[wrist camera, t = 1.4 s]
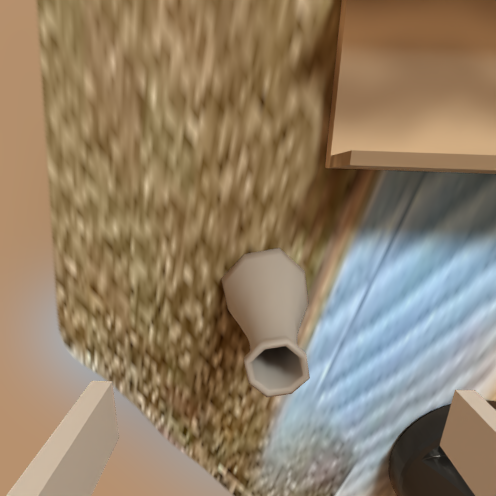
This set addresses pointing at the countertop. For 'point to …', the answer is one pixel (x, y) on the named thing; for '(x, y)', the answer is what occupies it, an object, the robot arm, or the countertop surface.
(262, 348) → the flask
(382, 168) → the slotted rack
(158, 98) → the countertop surface
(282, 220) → the countertop surface
